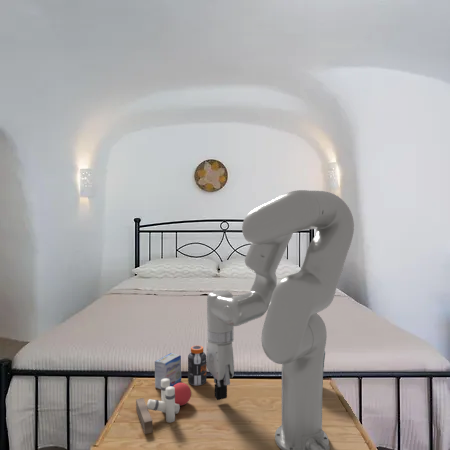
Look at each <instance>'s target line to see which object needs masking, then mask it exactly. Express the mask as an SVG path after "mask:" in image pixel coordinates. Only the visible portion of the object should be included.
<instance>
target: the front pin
mask: <svg viewBox="0 0 450 450" xmlns="http://www.w3.org/2000/svg"><path fill="white" fill-rule="evenodd" d="M146 406H147V409H148V410H149V411H150V410H151V411H157V412H162V411H163V412H166V402H164V401H161V400H158V399H151V398H149V399H148V400H147V403H146ZM180 408H181V407H180V405H179V404H176V403H175V415H176V414H179V412H180ZM163 412H162V413H163Z"/></svg>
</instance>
